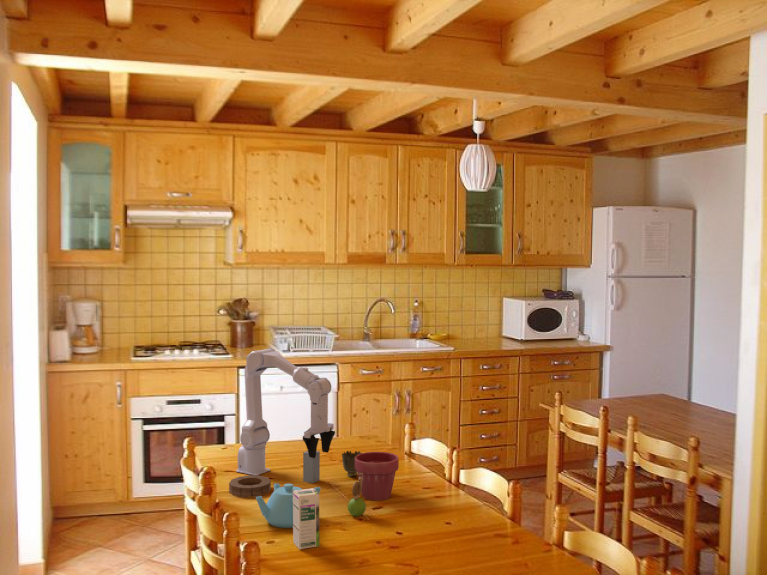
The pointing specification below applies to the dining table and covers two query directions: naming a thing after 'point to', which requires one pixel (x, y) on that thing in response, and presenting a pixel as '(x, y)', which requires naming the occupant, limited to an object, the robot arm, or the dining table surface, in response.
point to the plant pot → (377, 473)
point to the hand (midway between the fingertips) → (319, 454)
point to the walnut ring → (249, 486)
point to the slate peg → (311, 467)
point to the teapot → (280, 505)
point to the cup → (350, 463)
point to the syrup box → (306, 518)
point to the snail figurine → (357, 499)
